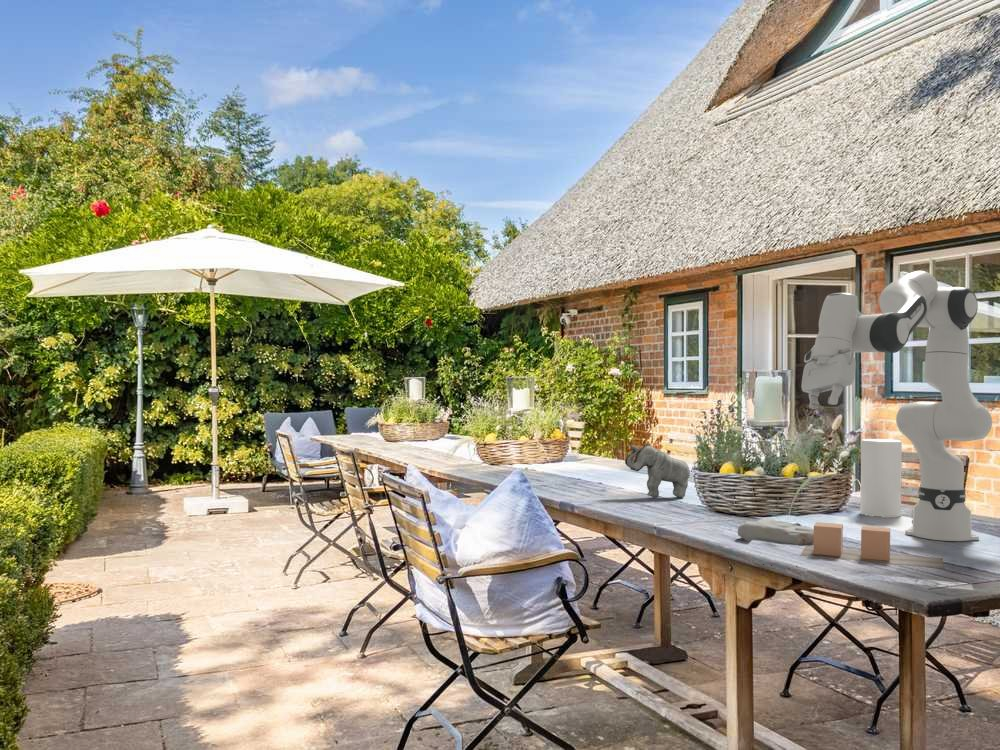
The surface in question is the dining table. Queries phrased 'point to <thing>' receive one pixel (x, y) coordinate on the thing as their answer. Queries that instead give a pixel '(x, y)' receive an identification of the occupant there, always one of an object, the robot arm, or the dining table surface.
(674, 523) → the dining table surface
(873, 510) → the cylinder
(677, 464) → the grey animal figurine
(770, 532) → the stone
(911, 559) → the board
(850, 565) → the dining table surface
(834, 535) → the peach block
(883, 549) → the wooden block
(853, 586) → the dining table surface
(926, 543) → the dining table surface
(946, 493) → the robot arm
